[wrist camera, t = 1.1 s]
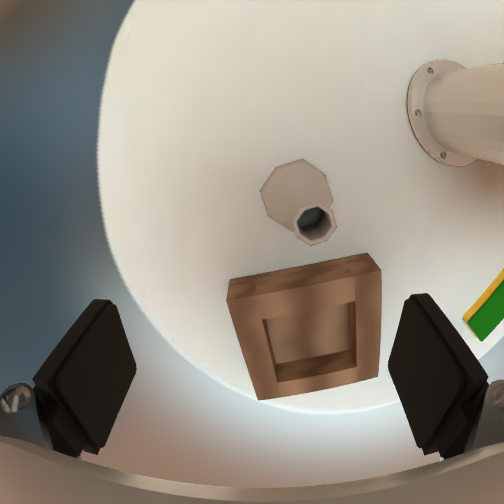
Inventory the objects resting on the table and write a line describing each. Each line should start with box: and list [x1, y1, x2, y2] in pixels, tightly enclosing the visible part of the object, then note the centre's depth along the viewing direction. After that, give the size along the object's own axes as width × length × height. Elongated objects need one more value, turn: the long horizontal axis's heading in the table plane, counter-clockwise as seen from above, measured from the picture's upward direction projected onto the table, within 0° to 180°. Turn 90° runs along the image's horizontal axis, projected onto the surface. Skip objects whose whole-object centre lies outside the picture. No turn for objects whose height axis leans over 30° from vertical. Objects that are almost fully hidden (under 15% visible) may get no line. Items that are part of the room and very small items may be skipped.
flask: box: [260, 159, 337, 246], centre depth 26 cm, size 7×7×10 cm
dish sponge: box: [463, 269, 504, 341], centre depth 35 cm, size 7×14×2 cm, turn 141°
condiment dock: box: [226, 253, 382, 400], centre depth 35 cm, size 16×16×4 cm
